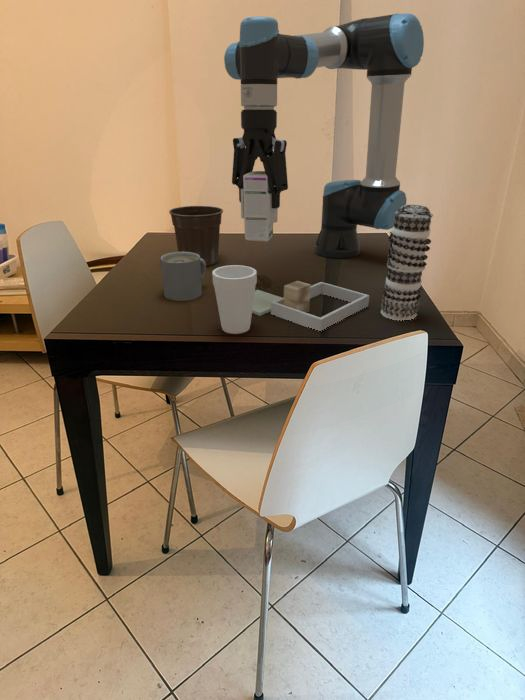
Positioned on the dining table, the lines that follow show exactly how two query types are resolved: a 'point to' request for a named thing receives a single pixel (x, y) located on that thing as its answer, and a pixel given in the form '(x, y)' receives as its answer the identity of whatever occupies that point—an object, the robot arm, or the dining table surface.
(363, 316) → the dining table surface
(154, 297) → the dining table surface
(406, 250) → the decorative candle
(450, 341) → the dining table surface
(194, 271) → the coffee mug
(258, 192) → the syrup box
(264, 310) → the sage pad
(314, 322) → the parts bin
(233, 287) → the foam cup
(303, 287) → the beech block
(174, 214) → the plant pot
